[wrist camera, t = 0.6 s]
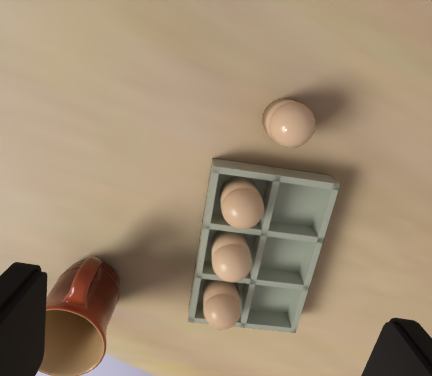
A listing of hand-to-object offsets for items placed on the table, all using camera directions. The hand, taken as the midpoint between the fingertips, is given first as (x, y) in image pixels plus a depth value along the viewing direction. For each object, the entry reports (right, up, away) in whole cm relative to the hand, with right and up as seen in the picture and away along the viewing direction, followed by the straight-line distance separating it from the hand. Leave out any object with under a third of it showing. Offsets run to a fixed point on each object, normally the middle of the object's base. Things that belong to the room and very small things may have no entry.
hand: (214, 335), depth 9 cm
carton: (+5, -3, +32) cm, 32 cm away
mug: (-15, -6, +32) cm, 36 cm away
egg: (+7, +12, +27) cm, 30 cm away
